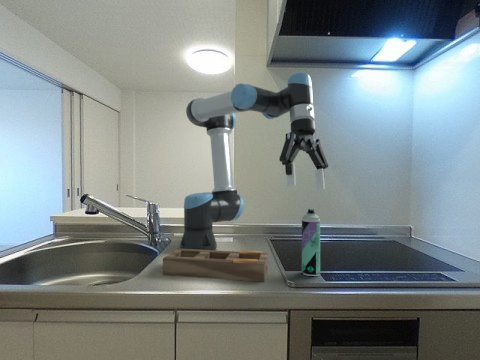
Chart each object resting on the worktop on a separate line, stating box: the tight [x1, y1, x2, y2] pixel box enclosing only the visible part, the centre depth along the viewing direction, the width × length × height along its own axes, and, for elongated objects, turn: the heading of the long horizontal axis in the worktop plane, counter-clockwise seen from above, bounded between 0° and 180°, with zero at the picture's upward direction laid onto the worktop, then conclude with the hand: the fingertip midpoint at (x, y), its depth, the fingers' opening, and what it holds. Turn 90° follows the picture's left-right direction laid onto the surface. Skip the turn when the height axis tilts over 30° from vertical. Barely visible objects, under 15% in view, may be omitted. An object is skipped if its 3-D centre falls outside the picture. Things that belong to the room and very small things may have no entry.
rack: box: [162, 248, 269, 283], centre depth 87 cm, size 12×31×6 cm, turn 79°
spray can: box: [301, 208, 321, 277], centre depth 84 cm, size 6×6×20 cm
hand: (307, 188), depth 83 cm, fingers open, 13 cm apart
